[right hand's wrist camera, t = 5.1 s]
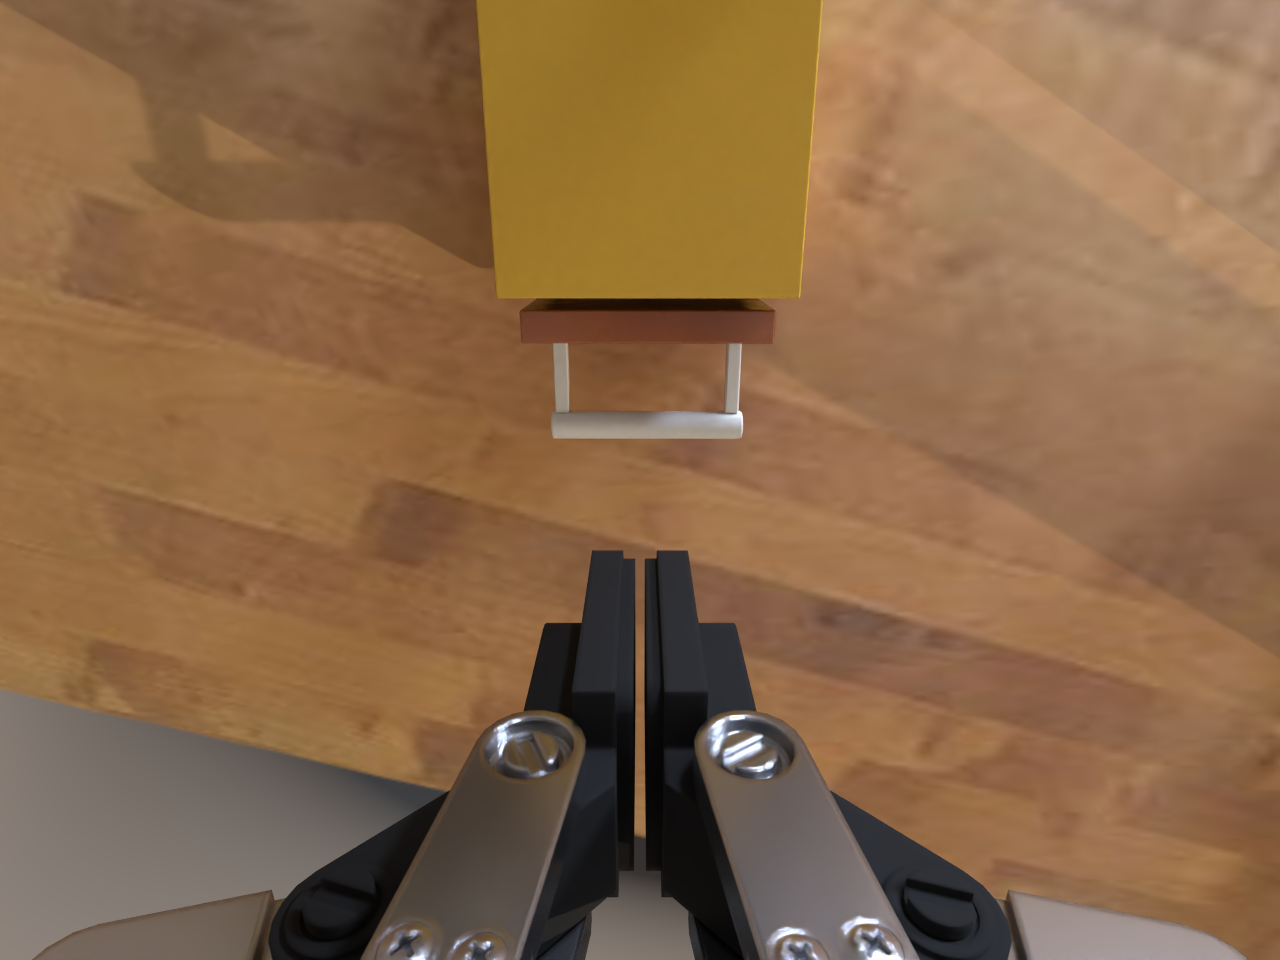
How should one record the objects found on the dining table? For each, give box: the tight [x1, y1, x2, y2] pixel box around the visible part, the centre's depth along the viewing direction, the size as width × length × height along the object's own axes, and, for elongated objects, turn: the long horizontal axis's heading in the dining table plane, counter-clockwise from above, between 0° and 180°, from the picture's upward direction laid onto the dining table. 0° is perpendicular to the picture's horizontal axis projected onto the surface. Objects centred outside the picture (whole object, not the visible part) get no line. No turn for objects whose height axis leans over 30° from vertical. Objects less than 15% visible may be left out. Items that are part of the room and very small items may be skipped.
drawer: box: [520, 298, 776, 439], centre depth 28 cm, size 20×9×9 cm, turn 0°
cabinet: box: [476, 0, 823, 298], centre depth 26 cm, size 16×10×11 cm, turn 0°
